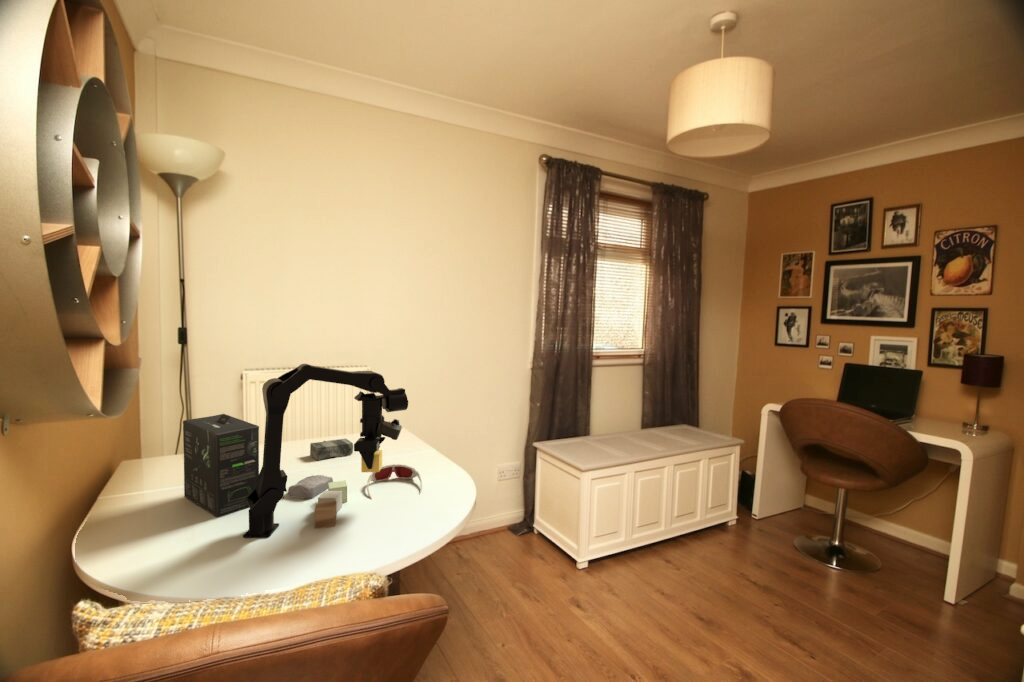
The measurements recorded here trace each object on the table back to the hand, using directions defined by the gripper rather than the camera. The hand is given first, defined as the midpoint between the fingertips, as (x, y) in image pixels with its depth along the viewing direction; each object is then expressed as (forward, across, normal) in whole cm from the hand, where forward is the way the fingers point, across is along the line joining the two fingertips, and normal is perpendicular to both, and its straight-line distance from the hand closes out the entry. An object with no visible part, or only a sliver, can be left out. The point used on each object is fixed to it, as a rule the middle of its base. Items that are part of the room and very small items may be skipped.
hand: (371, 465), depth 134 cm
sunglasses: (+13, +14, -4) cm, 19 cm away
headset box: (+12, +5, +45) cm, 47 cm away
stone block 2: (+12, +12, +22) cm, 28 cm away
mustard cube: (+1, 0, 0) cm, 1 cm away
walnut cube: (+12, -11, +10) cm, 19 cm away
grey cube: (+12, -4, +11) cm, 17 cm away
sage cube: (+12, +4, +11) cm, 17 cm away
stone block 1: (+12, +47, +25) cm, 55 cm away
